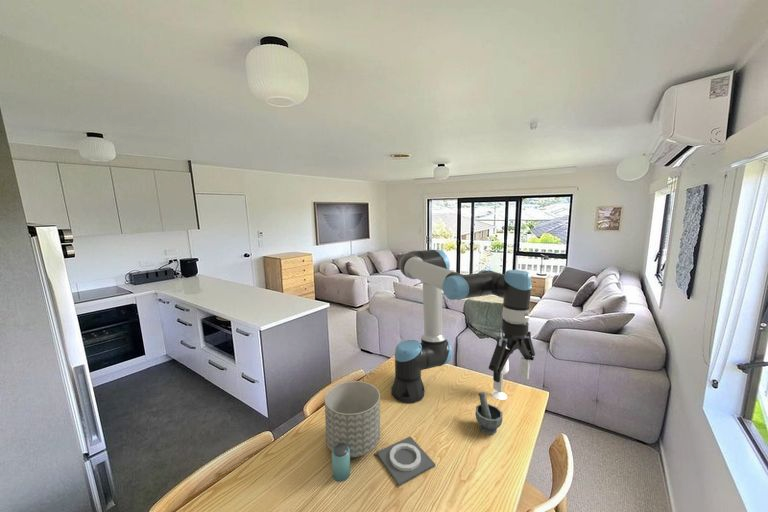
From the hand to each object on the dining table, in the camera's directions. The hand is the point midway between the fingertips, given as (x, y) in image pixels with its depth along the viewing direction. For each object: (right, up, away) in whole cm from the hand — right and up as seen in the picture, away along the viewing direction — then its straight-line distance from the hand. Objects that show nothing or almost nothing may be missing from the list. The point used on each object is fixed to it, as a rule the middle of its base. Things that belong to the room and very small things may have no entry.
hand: (511, 383), depth 94 cm
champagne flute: (+11, -22, +37) cm, 45 cm away
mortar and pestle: (-2, -25, +18) cm, 30 cm away
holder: (-34, -26, +3) cm, 43 cm away
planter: (-52, -26, +10) cm, 59 cm away
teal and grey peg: (-54, -27, -2) cm, 61 cm away
